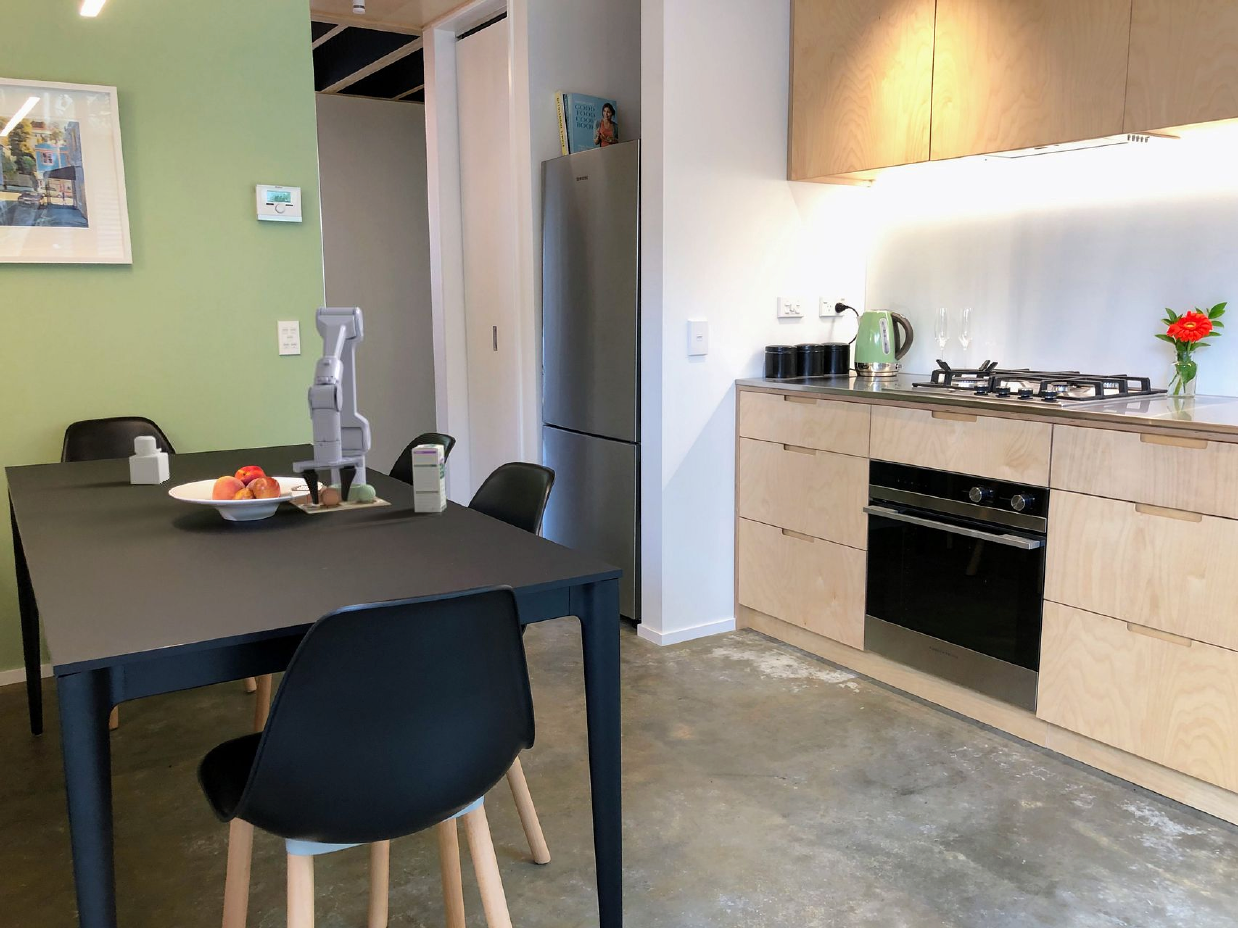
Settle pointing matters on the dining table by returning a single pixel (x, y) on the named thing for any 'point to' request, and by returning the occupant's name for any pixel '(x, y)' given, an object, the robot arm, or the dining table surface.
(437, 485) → the syrup box
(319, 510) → the board
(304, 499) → the terracotta tube
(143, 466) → the medicine bottle
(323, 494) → the terracotta ball
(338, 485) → the green octagonal ring
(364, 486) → the sage ball
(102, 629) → the dining table surface
